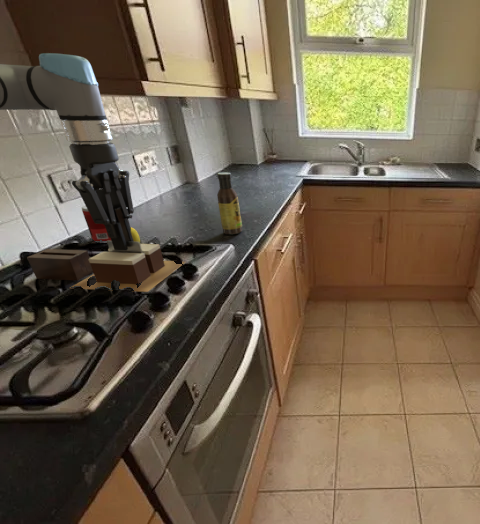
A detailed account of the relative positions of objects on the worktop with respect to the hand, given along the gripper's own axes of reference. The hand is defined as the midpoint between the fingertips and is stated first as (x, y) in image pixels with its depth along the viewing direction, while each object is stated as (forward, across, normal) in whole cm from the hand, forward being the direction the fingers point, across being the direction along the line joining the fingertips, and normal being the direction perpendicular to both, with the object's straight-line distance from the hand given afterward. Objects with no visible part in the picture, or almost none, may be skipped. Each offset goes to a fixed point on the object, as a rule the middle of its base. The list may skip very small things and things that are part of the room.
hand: (124, 247), depth 78 cm
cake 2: (+7, +3, 0) cm, 7 cm away
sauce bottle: (+9, +35, -10) cm, 37 cm away
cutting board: (+8, 0, 0) cm, 8 cm away
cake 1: (+7, -3, 0) cm, 8 cm away
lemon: (+9, +16, +12) cm, 22 cm away
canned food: (+9, +24, +25) cm, 36 cm away
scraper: (+6, 0, 0) cm, 6 cm away
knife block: (+8, -2, +15) cm, 17 cm away
